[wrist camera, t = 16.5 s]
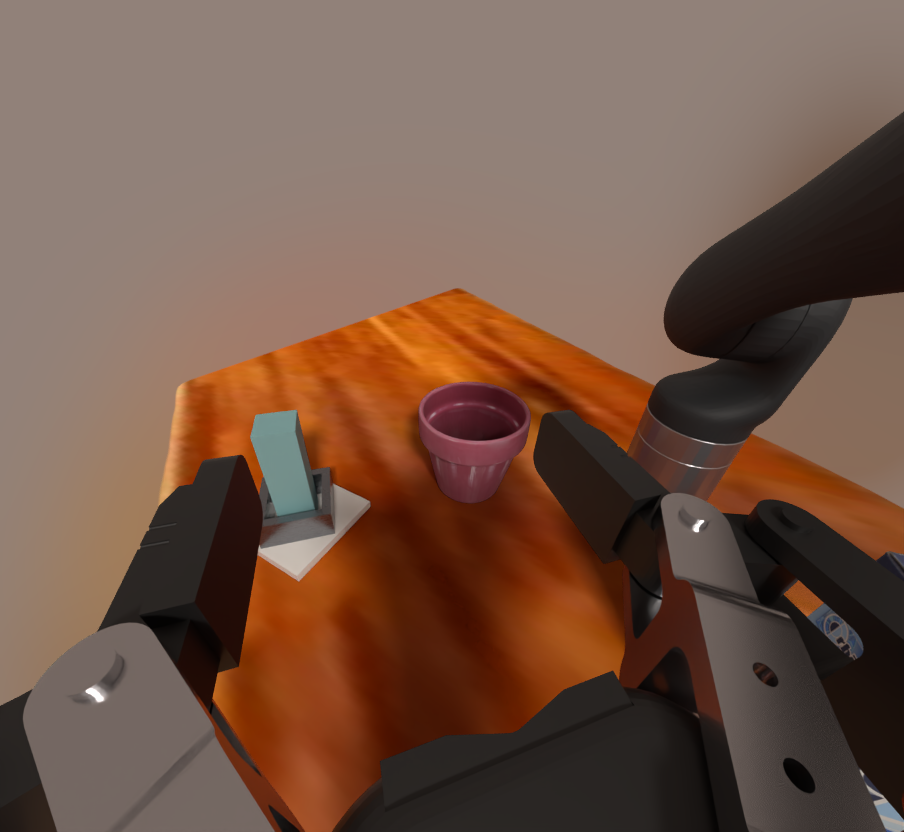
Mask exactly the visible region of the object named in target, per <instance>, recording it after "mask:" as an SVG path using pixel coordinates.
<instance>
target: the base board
mask: <svg viewBox="0 0 904 832" xmlns="http://www.w3.org/2000/svg"><path fill="white" fill-rule="evenodd" d="M333 487H334V514H335V534H331V535H326V536H321V537H316V538H311V539H306V540H302V541H297V542H292V543H287V544H282V545H278V546H273V547H268V548H263V549H261V548H260V545H259V549H258V555H259V556H260V557H262V558H263V559H265V560H267V561H268V562H270V563H271V564H273V565H274V566H276V567H277V568H279V569H280V570H282V571H283V572H285V573H287V574H288V575H290V576H291V577H293V578H294V579H296V580H297V581H300V580H301V579H302V578H303V577H304V576H305V575H306V573H307V572H308V571H309V570H310V569H311V568H312V567H313V566H314V565H315V564H316V563H317V562H318V561H319V560H320V559H321V558H322V557H323V556H324V555H325V554H326V553H327V552H328V551H329V550H330V548H331V547H332V546H333V545H334V544H335V543H336V542H337V541H338V540H339V539H340V538H341V537H342V536H343V535H344V534H345V533H346V532H347V531H348V530H349V529H350V528H351V527H352V526H353V525H354V523H355V522H356V521H357V520H358V519H359V518H360V517H361V516H362V515H363V514H364V513H365V512H366V511H367V510H368V509H369V508H370V507H371V505H370V501H368V500H366V499H364V498H362V497H360V496H358V495H356V494H354V493H352V492H349V491H347V490H345V489H343V488H341V487H339V486H337V485H335V484H333ZM317 497H318V509H322V494H317ZM275 517H278V516H277V513H276V512H275Z"/></svg>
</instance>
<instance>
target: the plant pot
mask: <svg viewBox="0 0 904 832" xmlns="http://www.w3.org/2000/svg"><path fill="white" fill-rule="evenodd" d="M530 420H531V415H530V411H529V408H528V406H527V405H526V404H525V402H524V401H523V400H522V399H521V398H520V397H518V396H517V395H516V394H514V393H512V392H510V391H509V390H506V389H504V388H502V387H499V386H495V385H492V384H486V383H479V382H459V383H452V384H448V385H444V386H441V387H439V388H436V389H434V390H432V391H431V392H429V393H428V394H427V395H426V396H425V397H424V398H423V399H422V401H421V403H420V406H419V434H420V438H421V440H422V442H423V444H424V445H425V447H426V448H427V449H428V450H429V454H430V458H431V462H432V465H433V469H434V472H435V476H436V479H437V483H438V486H439V488H440V489H441V491H442V492H443V493H444V494H445V495H446V496H448V497H449V498H451V499H453V500H456V501H459V502H463V503H477V502H481V501H484V500H486V499H488V498H490V497H491V496H492V495H493V494H494V493H495V492H496V490H497V489H498V487H499V485H500V483H501V481H502V479H503V477H504V475H505V473H506V471H507V469H508V467H509V465H510V463H511V461H512V459H513V457H515V456H516V455H518V454H519V453H520V452H521V450H522V449H523V448H524V446H525V444H526V440H527V436H528V431H529V426H530Z"/></svg>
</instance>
